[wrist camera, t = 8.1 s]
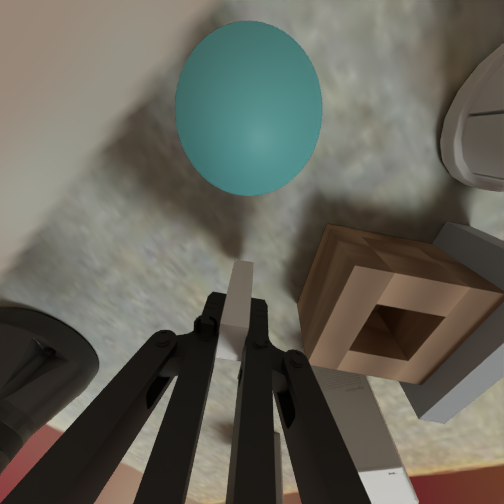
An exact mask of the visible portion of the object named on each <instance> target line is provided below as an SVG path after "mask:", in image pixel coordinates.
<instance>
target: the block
mask: <svg viewBox="0 0 504 504" xmlns="http://www.w3.org/2000/svg"><path fill="white" fill-rule="evenodd" d="M503 302H504V291H503V290H501V289H500V288H498V287H497V286H495V285H494V284H492V283H491V282H489V281H488V280H486V279H485V278H483V277H482V276H480V275H479V274H477V273H476V272H474V271H473V270H471V269H469V268H468V267H466V266H465V265H463V264H462V263H460V262H459V261H457V260H456V259H454V258H453V257H451V256H450V255H448V254H447V253H445V252H444V251H442V250H441V249H439V248H437V247H436V246H434V245H433V244H428V243H423V242H418V241H413V240H408V239H403V238H398V237H392V236H387V235H382V234H377V233H372V232H367V231H362V230H356V229H351V228H346V227H341V226H336V225H331V224H327V225H326V228H325V231H324V234H323V236H322V239H321V242H320V244H319V247H318V250H317V252H316V255H315V258H314V261H313V263H312V266H311V269H310V271H309V274H308V277H307V280H306V282H305V285H304V288H303V290H302V293H301V296H300V298H299V301H298V304H297V308H298V314H299V320H300V326H301V332H302V338H303V344H304V350H305V356H306V357H307V359H308V361H309V363H310V365H313V366H318V367H324V368H329V369H335V370H340V371H346V372H351V373H357V374H363V375H368V376H374V377H379V378H385V379H390V380H396V381H401V382H407V383H413V384H418V385H422V384H423V383H424V382H425V381H426V380H427V379H428V378H429V377H430V376H431V375H432V374H433V373H434V372H435V371H436V370H437V369H438V368H439V367H440V366H441V365H442V364H443V363H444V362H445V361H446V360H447V359H448V358H449V357H450V356H451V355H452V354H453V353H454V352H455V351H456V350H457V349H458V348H459V347H460V346H461V345H462V344H463V343H464V342H465V340H466V339H467V338H468V337H469V336H470V335H471V334H472V333H473V332H474V331H475V330H476V329H477V328H478V327H479V326H480V325H481V324H482V323H483V322H484V321H485V320H486V319H487V318H488V317H489V316H490V315H491V314H492V313H493V312H494V311H495V310H496V309H497V308H498V307H499V306H500V305H501V304H502V303H503Z"/></svg>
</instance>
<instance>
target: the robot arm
mask: <svg viewBox="0 0 504 504" xmlns="http://www.w3.org/2000/svg"><path fill="white" fill-rule="evenodd" d="M253 266H254V263H252V262H247V261H241V260H236V259H235V261H234V266H233V270H232V274H231V279H230V283H229V287H228V292H227V294H224V293H218V292H212V293H211V294H210V295H209V296H208V298H207V301H206V304H205V307H204V310H203V312H202V315H201V316H199V317H198V318H196V320H195V321H194V331H192V332H190V333H188V334H184V335H176V334H175V333H174V332H172V331H170V330H160V331H158V332H156V333H154V334H153V335H152V336H151V337H150V338H149V339H148V340H147V341H146V343H145V344H144V345H143V346H142V347H141V348H140V349H139V350H138V351H137V353H136V354H135V355H134V356H133V357H132V358H131V359H130V360H129V361H128V362H127V364H126V365H125V366H124V367H123V368H122V369H121V370H120V371H119V372H118V374H117V375H116V376H115V377H114V378H113V379H112V380H111V381H110V382H109V384H108V385H107V386H106V387H105V388H104V389H103V390H102V391H101V392H100V394H99V395H98V396H97V397H96V398H95V399H94V400H93V401H92V402H91V403H90V405H89V406H88V407H87V408H86V409H85V410H84V411H83V412H82V413H81V415H80V416H79V417H78V418H77V419H76V420H75V421H74V422H73V423H72V425H71V426H70V427H69V428H68V429H67V430H66V431H65V432H64V433H63V435H62V436H61V437H60V438H59V439H58V440H57V441H56V442H55V443H54V445H53V446H52V447H51V448H50V449H49V450H48V451H47V453H45V455H44V456H43V457H42V458H41V459H40V460H39V461H38V462H37V463H36V464H35V466H34V467H33V468H32V469H31V470H30V471H29V472H28V473H27V474H26V476H25V477H24V478H23V479H22V480H21V481H20V482H19V483H18V484H17V486H16V487H15V488H14V489H13V490H12V491H11V492H10V493H9V495H8V496H7V497H6V498H5V499H4V500H3V501H2V502H1V503H0V504H93V503H94V502H95V501H96V499H97V497H98V496H99V494H100V493H101V491H102V490H103V488H104V486H105V485H106V483H107V482H108V480H109V479H110V477H111V476H112V474H113V472H114V471H115V469H116V468H117V466H118V464H119V463H120V461H121V460H122V458H123V457H124V455H125V454H126V452H127V450H128V449H129V447H130V446H131V444H132V443H133V441H134V440H135V438H136V436H137V435H138V433H139V432H140V430H141V429H142V427H143V425H144V424H145V422H146V421H147V419H148V418H149V416H150V414H151V413H152V411H153V410H154V408H155V407H156V405H157V404H158V402H159V400H160V399H161V397H162V396H163V394H164V393H165V391H166V389H167V388H168V386H169V385H170V383H171V382H172V380H173V378H174V377H175V376H178V378H177V381H176V384H175V387H174V389H173V392H172V395H171V398H170V401H169V404H168V406H167V409H166V412H165V415H164V418H163V421H162V423H161V426H160V429H159V432H158V435H157V438H156V440H155V443H154V446H153V449H152V452H151V455H150V457H149V460H148V463H147V466H146V469H145V472H144V474H143V477H142V480H141V483H140V486H139V489H138V492H137V494H136V497H135V500H134V503H133V504H185V500H186V495H187V491H188V486H189V481H190V476H191V472H192V467H193V462H194V457H195V453H196V448H197V443H198V439H199V434H200V429H201V424H202V420H203V415H204V410H205V406H206V401H207V396H208V391H209V387H210V382H211V377H212V373H213V368H214V362H215V357H216V358H223V359H229V360H236V361H241V366H240V370H239V375H238V389H237V399H236V408H235V418H234V427H233V437H232V447H231V456H230V466H229V475H228V485H227V494H226V504H276V478H275V450H274V421H273V393H274V397H275V401H276V405H277V409H278V413H279V417H280V421H281V425H282V428H283V432H284V436H285V440H286V444H287V448H288V452H289V456H290V460H291V464H292V467H293V471H294V475H295V479H296V483H297V487H298V491H299V495H300V499H301V502H302V504H372V503H371V501H370V499H369V496H368V494H367V492H366V490H365V487H364V485H363V483H362V481H361V478H360V476H359V474H358V472H357V469H356V467H355V465H354V462H353V460H352V458H351V456H350V453H349V451H348V449H347V447H346V444H345V442H344V440H343V438H342V435H341V433H340V431H339V429H338V426H337V424H336V422H335V419H334V417H333V415H332V413H331V410H330V408H329V406H328V404H327V401H326V399H325V397H324V395H323V392H322V390H321V388H320V386H319V383H318V381H317V379H316V376H315V374H314V372H313V370H312V367H311V365H310V363H309V361H308V359H307V357H306V356H305V355H304V354H303V353H302V352H300V351H298V350H293V349H292V350H288V351H287V352H284V351H282V350H280V349H278V348H276V347H275V346H274V345H272V343H271V342H270V340H269V336H268V306H267V304H266V302H265V300H262V299H256V298H251V293H252V279H253ZM98 369H99V363H98V359H97V356H96V354H95V352H94V351H93V349H92V348H91V347H90V345H89V344H88V343H87V342H86V341H85V340H84V339H83V338H82V337H81V336H80V335H78V334H77V333H76V332H74V331H73V330H72V329H70V328H69V327H67V326H65V325H64V324H62V323H60V322H58V321H56V320H54V319H52V318H50V317H48V316H45V315H43V314H40V313H37V312H34V311H30V310H26V309H20V308H9V307H7V308H0V474H1V473H2V472H3V470H4V469H5V468H6V467H7V465H8V464H9V463H10V462H11V460H12V459H13V458H14V457H15V455H16V454H17V453H18V452H19V450H20V449H21V448H22V447H23V445H24V444H25V443H26V442H27V441H28V439H29V438H30V437H31V436H32V435H33V434H34V433H35V432H36V431H37V430H39V429H40V428H41V427H42V426H43V425H45V424H46V423H47V422H48V421H49V420H51V419H52V418H53V417H54V416H55V415H57V414H58V413H59V412H60V411H61V410H62V409H64V408H65V407H66V406H67V405H68V404H69V403H70V402H72V401H73V400H74V399H75V398H76V397H78V396H79V395H80V394H81V393H82V392H83V391H84V390H85V389H86V388H87V387H88V385H89V384H90V382H91V381H92V380H93V378H94V377H95V376H96V374H97V372H98ZM272 390H273V392H272Z"/></svg>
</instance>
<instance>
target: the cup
mask: <svg viewBox="0 0 504 504" xmlns="http://www.w3.org/2000/svg"><path fill="white" fill-rule="evenodd" d="M440 145H441V153H442V161H443V163H444V165H445V166H446V168H447V170H448V171H449V173H450V175H451V176H452V177H453V178H455V179H457V180H458V181H460V182H461V183H463V184H465V185H466V186H470V187H475V188H479V189H484V190H490V191H497V192H503V191H504V43H503V44H502V45H501V46H499V47H498V48H497V49H496V50H495V51H494V52H492V53H491V54H490V55H489V56H488V57H487V58H485V59H484V60H483V61H482V62H481V63H480V64H479V65H478V66H477V67H476V69H475V70H474V71H473V72H472V74H471V75H470V76H469V78H468V79H467V80H466V81H465V83H464V84H463V85H462V86H461V88H460V89H459V90H458V92H457V94H456V96H455V98H454V100H453V102H452V104H451V106H450V108H449V110H448V113H447V115H446V117H445V120H444V125H443V130H442V135H441V140H440Z"/></svg>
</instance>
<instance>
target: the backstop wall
mask: <svg viewBox="0 0 504 504" xmlns="http://www.w3.org/2000/svg"><path fill="white" fill-rule="evenodd" d="M432 244H433V245H434V246H436V247H437V248H439V249H441V250H442V251H444V252H445V253H447V254H448V255H450V256H451V257H453V258H454V259H456V260H457V261H459V262H460V263H462V264H463V265H465V266H466V267H468V268H469V269H471V270H473V271H474V272H476V273H477V274H479V275H480V276H482V277H483V278H485V279H486V280H488V281H489V282H491V283H492V284H494V285H495V286H497V287H498V288H500V289H501V290H503V291H504V241H503V240H500V239H498V238H496V237H494V236H491V235H489V234H487V233H485V232H482V231H480V230H478V229H476V228H473V227H471V226H466V225H461V224H456V223H451V222H446V223H445V224H444V226H443V227H442V229H441V231H440V232H439V234H438V235H437V237H436V238H435V240H434V241H433V243H432ZM503 377H504V302H503V303H502V304H501V305H500V306H499V307H498V308H497V309H496V310H495V311H494V312H493V313H492V314H491V315H490V316H489V317H488V318H487V319H486V320H485V321H484V322H483V323H482V324H481V325H480V326H479V327H478V328H477V329H476V330H475V331H474V332H473V333H472V334H471V335H470V336H469V337H468V338H467V339H466V340H465V342H464V343H463V344H462V345H461V346H460V347H459V348H458V349H457V350H456V351H455V352H454V353H453V354H452V355H451V356H450V357H449V358H448V359H447V360H446V361H445V362H444V363H443V364H442V365H441V366H440V367H439V368H438V369H437V370H436V371H435V372H434V373H433V374H432V375H431V376H430V377H429V378H428V379H427V380H426V381H425V382H424V383H423V384H422V385H418V384H413V383H407V382H401V381H399V383H400V385H401V387H402V388H403V390H404V392H405V394H406V396H407V398H408V400H409V402H410V404H411V405H412V407H413V409H414V411H415V413H416V415H417V417H418V419H421V420H426V421H432V422H438V423H443V424H445V423H446V422H447V421H448V420H450V419H451V418H452V417H453V416H455V415H456V414H457V413H458V412H460V411H461V410H462V409H463V408H465V407H466V406H467V405H469V404H470V403H471V402H472V401H474V400H475V399H476V398H477V397H479V396H480V395H481V394H482V393H484V392H485V391H486V390H487V389H489V388H490V387H491V386H492V385H494V384H495V383H496V382H497V381H499V380H500V379H501V378H503Z"/></svg>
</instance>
